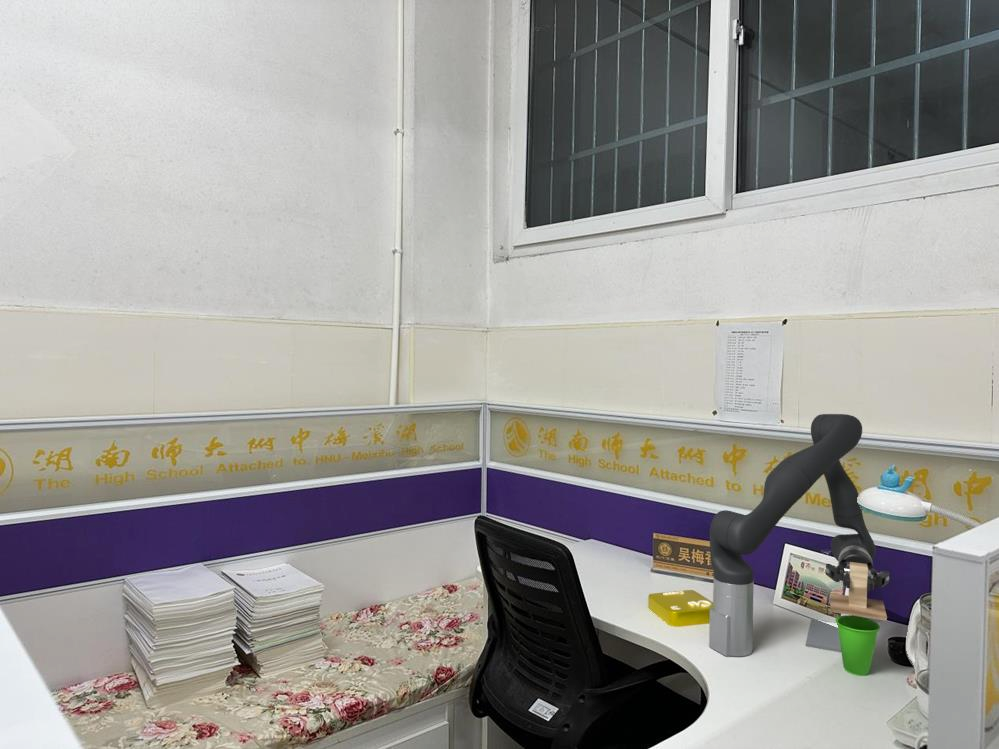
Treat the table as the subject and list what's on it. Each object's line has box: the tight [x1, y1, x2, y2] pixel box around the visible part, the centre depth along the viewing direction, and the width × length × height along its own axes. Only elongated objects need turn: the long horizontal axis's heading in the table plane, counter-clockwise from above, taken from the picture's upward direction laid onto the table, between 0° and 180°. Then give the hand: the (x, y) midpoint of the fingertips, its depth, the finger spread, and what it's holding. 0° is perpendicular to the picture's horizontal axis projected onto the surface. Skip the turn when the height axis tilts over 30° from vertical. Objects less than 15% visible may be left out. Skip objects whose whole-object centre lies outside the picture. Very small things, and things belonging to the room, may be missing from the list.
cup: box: [834, 614, 881, 677], centre depth 160 cm, size 9×9×11 cm
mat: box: [805, 618, 841, 653], centre depth 178 cm, size 18×13×1 cm
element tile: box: [647, 589, 713, 628], centre depth 193 cm, size 15×15×5 cm
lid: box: [829, 562, 888, 621], centre depth 159 cm, size 11×11×10 cm
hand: (858, 585), depth 157 cm, fingers closed on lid, 3 cm apart
